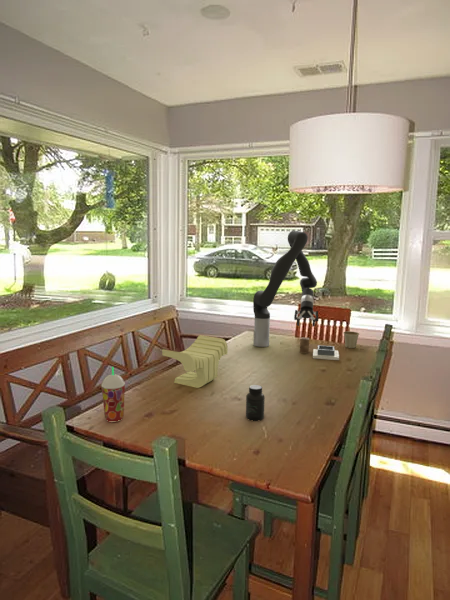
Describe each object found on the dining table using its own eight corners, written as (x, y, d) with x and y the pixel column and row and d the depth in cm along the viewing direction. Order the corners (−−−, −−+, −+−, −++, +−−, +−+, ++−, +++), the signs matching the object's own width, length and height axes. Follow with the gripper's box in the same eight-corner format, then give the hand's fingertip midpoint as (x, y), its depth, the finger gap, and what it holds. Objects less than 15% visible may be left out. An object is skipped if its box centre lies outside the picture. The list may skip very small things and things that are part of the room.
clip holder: (312, 358, 238) (313, 350, 237) (313, 351, 251) (313, 343, 250) (339, 360, 235) (339, 352, 234) (337, 353, 248) (338, 345, 247)
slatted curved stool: (193, 395, 182) (193, 354, 180) (162, 388, 190) (162, 349, 187) (227, 375, 208) (227, 339, 206) (199, 369, 216) (199, 335, 213)
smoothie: (116, 412, 164) (115, 362, 161) (130, 419, 159) (129, 366, 156) (97, 420, 158) (95, 367, 155) (111, 426, 153) (110, 372, 149)
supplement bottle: (252, 412, 166) (253, 382, 164) (267, 417, 162) (268, 386, 160) (242, 417, 161) (242, 387, 159) (257, 423, 157) (257, 391, 155)
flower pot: (339, 345, 264) (339, 332, 263) (351, 344, 268) (352, 330, 267) (349, 349, 256) (350, 335, 254) (361, 348, 260) (362, 334, 258)
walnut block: (299, 352, 249) (300, 338, 247) (300, 350, 253) (300, 337, 251) (308, 353, 248) (309, 339, 246) (308, 351, 252) (309, 337, 250)
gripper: (295, 299, 265) (293, 321, 256) (319, 300, 262) (318, 323, 253) (295, 306, 271) (293, 328, 262) (318, 307, 268) (317, 329, 259)
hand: (305, 325), depth 258 cm, fingers open, 8 cm apart
